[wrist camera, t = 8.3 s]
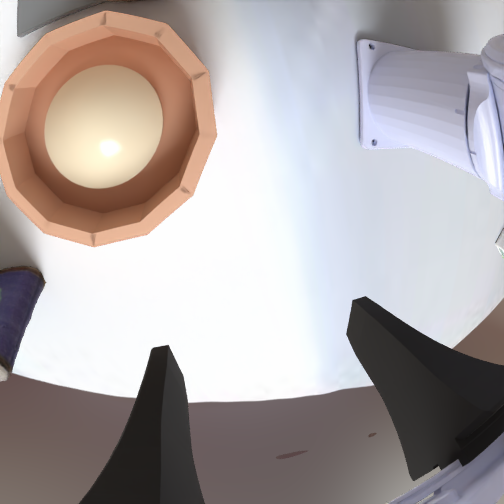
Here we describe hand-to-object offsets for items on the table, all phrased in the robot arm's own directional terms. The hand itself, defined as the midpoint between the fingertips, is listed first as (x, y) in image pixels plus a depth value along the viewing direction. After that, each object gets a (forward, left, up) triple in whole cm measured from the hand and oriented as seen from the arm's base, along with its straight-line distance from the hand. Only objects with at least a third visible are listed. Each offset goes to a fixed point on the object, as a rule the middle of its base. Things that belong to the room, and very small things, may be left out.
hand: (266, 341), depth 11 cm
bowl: (+6, -8, -10) cm, 14 cm away
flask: (+19, +1, -11) cm, 22 cm away
